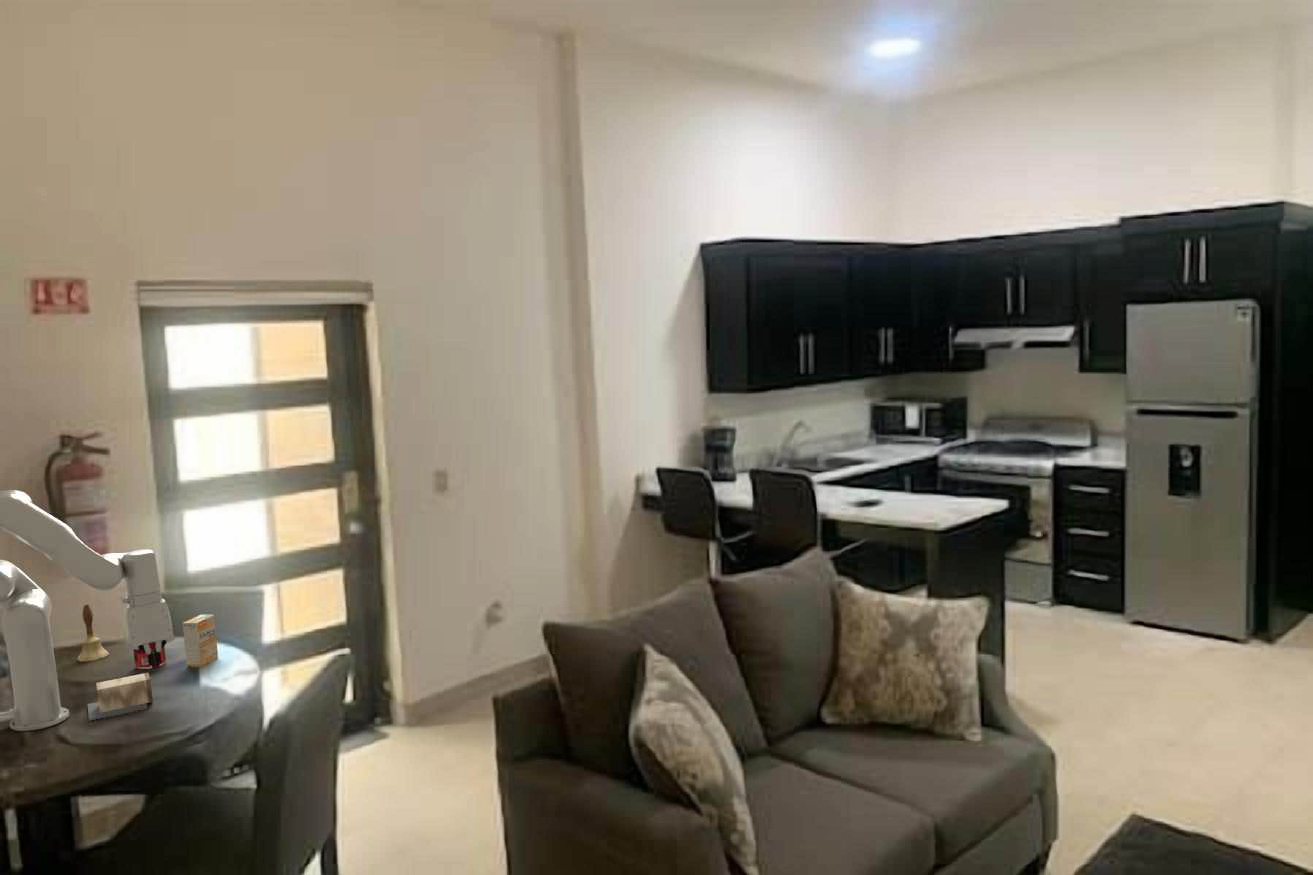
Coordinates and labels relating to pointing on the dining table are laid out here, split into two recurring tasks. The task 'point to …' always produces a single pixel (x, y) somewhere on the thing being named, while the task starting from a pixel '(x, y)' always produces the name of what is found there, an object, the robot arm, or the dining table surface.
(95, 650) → the hand bell
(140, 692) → the maple block
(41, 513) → the robot arm
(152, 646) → the canned food
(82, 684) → the dining table surface
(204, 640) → the supplement box
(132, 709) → the mat
